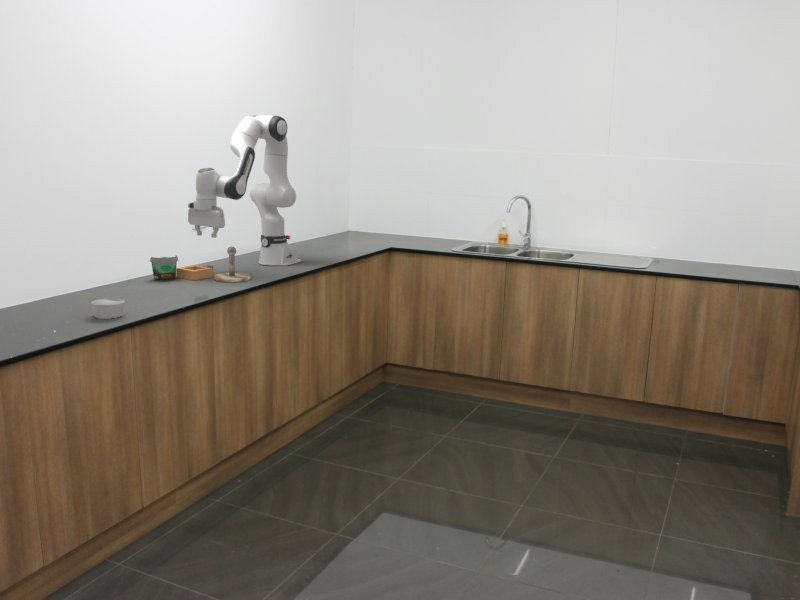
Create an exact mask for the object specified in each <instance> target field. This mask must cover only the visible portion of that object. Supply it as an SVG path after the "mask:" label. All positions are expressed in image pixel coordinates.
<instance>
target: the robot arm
mask: <svg viewBox="0 0 800 600" xmlns="http://www.w3.org/2000/svg"><path fill="white" fill-rule="evenodd" d="M287 134H288V123H287V121H286V119H285V118H284V117H282V116H280V115H269V114H264V115H252V116H251V115H247V116H245V117H243V119H242V120H241V121H240V122H239V124H238V125H237V126H236V128H235V130H234V131H233V134H232V135H231V138H230V142H229V147H230V149H231V151H232V153H233V154H234V155H236V156H237V157H238V158H239V163H238V166H237V169H236V171H235V174H233V175H231V176H227V175H223V174H220V173H218V172H217V171H216V170H215V168H213V167H204V168H201V169H199V170H197V172H196V176H195V177H196V178H195V190H196V197H195V200H194V201H192V202H189V203H188V204H187V207H188V213H187V221H188V222H187V223H188V224H189V225H194V229H195V232H196V236H199V237H200V236H202V234H203V231H202V230H201V227H207V228H212V230H213V231H212V233H210V234H211V235H210V237H211V238H217V235H218V232H219V229H223V228H225V226H226V220H225V214H224V209H222V207H221V206H217V204H218V203H217V197H218V198H224V199H231V200H235V201H238V200H241V199H242V198H243V197H244V195H245V194H246V191H247V186H248V180H249V177H250V174H251V171H252V169H253V165H254V162H255V158H256V151H255V146H257V143H258V140H259V139H261V140H264V141H265V148H264V157H263V159H264V160H263V171H264V173H265V174H266V175H267V176H268V178H269V183H258V184H257V183H256V184H254V185H253V186H252V187H251V189H250V192H249V197H250V199H251V201H252V202H253V204H254V205H255V206H256V208H257V210H258V212H259V215H260V221H261V222H260V223H261V234H260V243H261V245H260V251H259V252H260V253H259V259H258V264H259V265H263V266H264V265H265V266H282V267H283V266H290V265H294V264H298V263H301V262H302V259H300V258H298V255H297V254H298V253H297V250H296V249H295V248H294V247H293V246H292V245H290V243H288V240H291V238H292V237H291V235H287V234H286V235H285V219H284V217H283V216H282V215H281V214H280V213H279V210H278V208H281V209H285V208H290V207H292V206H294V204H295V203H296V201H297V192H296V190H295V189H294V188H293V187H292V184H291V183H290V181H289V178H288V155H289V148H288V147H289V146H288V143H289V142H288V137H287Z"/></svg>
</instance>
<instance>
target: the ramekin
mask: <svg viewBox="0 0 800 600" xmlns="http://www.w3.org/2000/svg"><path fill="white" fill-rule="evenodd" d="M90 306H91V309H92V314H93V316H94V317H95V318H96V319H99V320H100V319H101V320H112V319H111V318H114V319H118V318H117V317H119V318H121V317H123V316H124V311H125V306H126V301H125V299H120V298H99V299H96V300H92V301H91V302H90ZM120 316H121V317H120Z"/></svg>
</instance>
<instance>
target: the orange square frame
mask: <svg viewBox="0 0 800 600" xmlns="http://www.w3.org/2000/svg"><path fill="white" fill-rule="evenodd" d="M176 278H180V279H185V280H189V281H198V280H204V279H209V278H214V266H213V265H210V264H209V265H202V266H201V265H197V264H195V265H187V266H182V267H176Z"/></svg>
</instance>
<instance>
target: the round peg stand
mask: <svg viewBox="0 0 800 600" xmlns="http://www.w3.org/2000/svg"><path fill="white" fill-rule="evenodd" d="M226 253H227V254H228V261H229V262H228V271H229V272H221V273H216V274H213V281H216V282H219V283H232V284H233V282H236V283H244V282H248V281H251V279H252V276H251V274H249V273H245V272H236V261H235V260H236V259H235V256H236V254H237V248H236V247H234V246H231V245H230V246H229V247H228V248H227V250H226Z"/></svg>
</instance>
